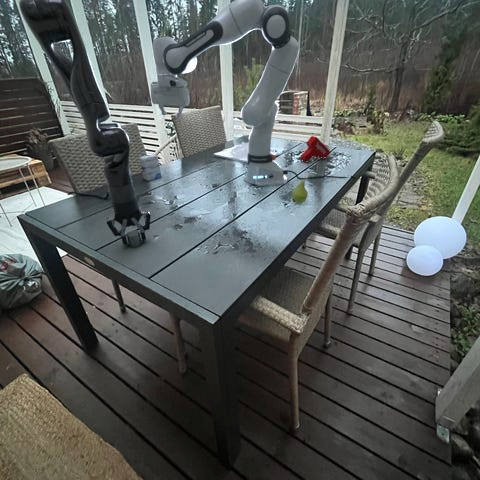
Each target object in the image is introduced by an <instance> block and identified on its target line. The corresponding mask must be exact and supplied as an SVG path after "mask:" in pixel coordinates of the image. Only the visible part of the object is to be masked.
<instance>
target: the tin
mask: <svg viewBox="0 0 480 480" xmlns="http://www.w3.org/2000/svg"><path fill="white" fill-rule="evenodd" d="M126 239H127V242H128V246H129V247H130V248H136V247H139V246H140V245H142V243H143V242H142V238H141V233H140V230H136V229H134V230H129V231H128V232H127V233H126Z"/></svg>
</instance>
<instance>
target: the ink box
mask: <svg viewBox="0 0 480 480" xmlns="http://www.w3.org/2000/svg"><path fill="white" fill-rule="evenodd" d="M138 158H139V162H140V168H141V173H142V178H143V180H145V181H148V182H149V181H152V180H153V181H154V180H156V179H159V178H162V173H161V167H160V160H159V156H158V155H156V154H149V155H145V156H144V155H143V156H139V157H138Z"/></svg>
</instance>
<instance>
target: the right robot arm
mask: <svg viewBox="0 0 480 480" xmlns="http://www.w3.org/2000/svg"><path fill="white" fill-rule="evenodd" d="M291 25H292V24H291V18H290V14H289V12H288V10H287V9H286V7H284V6H283V5H281V4H275V3H273V4H264V2H263V0H233V1H232V2H230V3H229V4H228V5H227V6H225V7H224V8H222V9H221V10H220V12H218V14H216V15H215V16H214V17H213V18H212V19H211V20H210V21H209V22H207V24H205V26H202V27H201V28H200V29H198V30H197V31H196V32H194V33H193V34H191V35H190V36H189V37H187V38H186V39H184V40H183V41H181V42H178V41H176V40H174V39H173V38H172V37H171V36H169V35H163V36H157V37H156V38H154V39H153V41H152V57H153V62H154V65H155V76H156V81H152V82H151V83H150V101H151V103H152V104H153V105H158V108H159V110H160V112H161V116H167V115H168V113H167V110H166V109H165V106H177V109H178V111H177V112H176V116H177V117H182V116H183V110H184V107H187V106H189V105H190V102H191V101H190V94H189V93H190V92H189V89H188V87H187V86H188V82H187V81H186V80H185V79H183V78H180V77H178V75H181V74H188V73H191V72H193V71H195V70H196V68H197V63H198V57H197V56H199V55H201V54H202V53H203V52H205V51H206V50H208V49H210V48H212V47H215V46H223V45H226V46H227V45H230V44H232V43H235V42H237V41H239V40H240V39H242V38H243V37H244V36H246V35H247V34H249V33H250V32H252V31H254V30H259V31H260V32H261V33H262V36H263V37H264V39H265V40H266V41H267V42H268V43H269V44H270V45H271V47H272V48H271V52H270V55H269V57H268V60H267V62H266V65H265V67H264V70H263V72H262V75H261V77H260V80H259V82H258V83H257V85H256V87H255V88H254V90H253V92H252V93H251V95H250V97H249V98H248V100H247V101H246V103H245V104H243V106H242V108H241V111H240V112H241V113H240V117H241V120H242V122H243V123H244V124H245V125H246V126H250V127H251V131H250V132H249V133H250V134H249V136H248V143H249V152H248V155H247V163H246V164H247V171H246V175H245V177H244V179H245V180H244V181H245V182H246V183H249V184H252V185H255V186H257V187H267V186H279V185H286V184H288V182H289V181H288V180H289V179H288V177H287V175H288V173H292V174H294V175H295V176H296V178H297V179H298V180H305V179H306V178H307V177H299V176H298V173H297V172H295V171H293V170H290V169H288V168H287V167H283V166H281V165H280V164H279V163H277V162H276V161H275V160H276V158H277V156H274V155H273V154H272V153H270V151H271V146H272V135H273V130H274V126H275V122H276V118H277V116H278V114H279V111H280V110H279V103H278V102H277V100H278V98H279V97H280V96H281V95H282V94H283V92H284V90H285V88H286V85H287V84H288V81H289V79H290V77H291V74H292V72H293V71H294V68H295V66H296V62H297V60H298V57H299V53H300V43H299V42H298V40H297V39H296V38H295V37H293V36H292V35H291V27H292V26H291ZM320 178H333V179H346V178H348V177H345V176H335V175H318V176H317V175H316V176H310V177H309V178H307V179H306V180H309V179H320ZM350 178H351V179H354V178H355V177H354V176H353V175H351V177H350Z"/></svg>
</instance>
